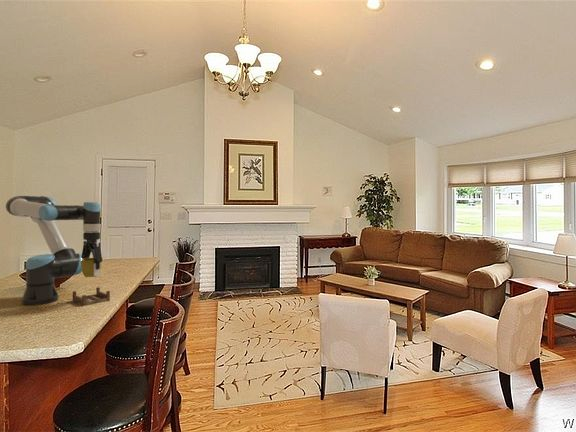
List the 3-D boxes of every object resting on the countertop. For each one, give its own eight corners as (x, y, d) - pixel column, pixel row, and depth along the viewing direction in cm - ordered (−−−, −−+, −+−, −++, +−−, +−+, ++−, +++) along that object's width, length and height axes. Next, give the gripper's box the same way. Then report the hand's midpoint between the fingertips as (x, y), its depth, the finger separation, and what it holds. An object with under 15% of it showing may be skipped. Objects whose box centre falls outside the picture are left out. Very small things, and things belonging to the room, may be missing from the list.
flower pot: (100, 277, 176) (100, 259, 176) (80, 278, 173) (80, 260, 172) (102, 274, 184) (102, 257, 184) (83, 275, 181) (83, 258, 181)
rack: (83, 305, 170) (83, 295, 170) (72, 301, 178) (72, 291, 177) (109, 300, 180) (109, 291, 180) (98, 296, 188) (98, 287, 188)
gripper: (110, 232, 174) (109, 276, 174) (89, 230, 188) (89, 270, 189) (94, 233, 168) (94, 278, 168) (74, 230, 182) (74, 272, 183)
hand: (91, 274), depth 178 cm, fingers closed on flower pot, 11 cm apart
